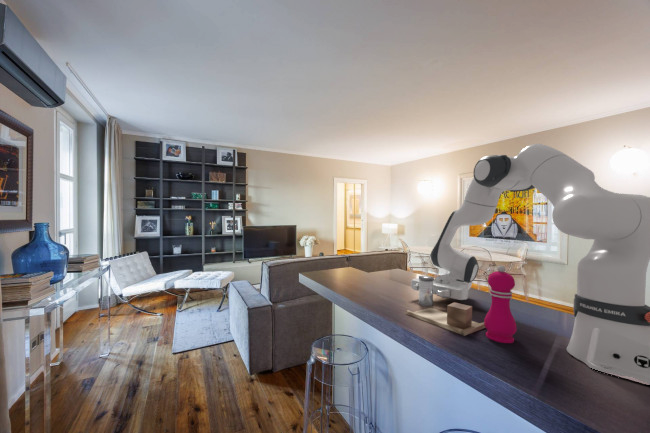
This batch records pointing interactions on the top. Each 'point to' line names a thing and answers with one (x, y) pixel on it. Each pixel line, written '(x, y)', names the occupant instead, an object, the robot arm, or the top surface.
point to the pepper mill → (500, 307)
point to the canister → (426, 290)
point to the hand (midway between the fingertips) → (426, 290)
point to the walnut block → (459, 315)
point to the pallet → (443, 320)
